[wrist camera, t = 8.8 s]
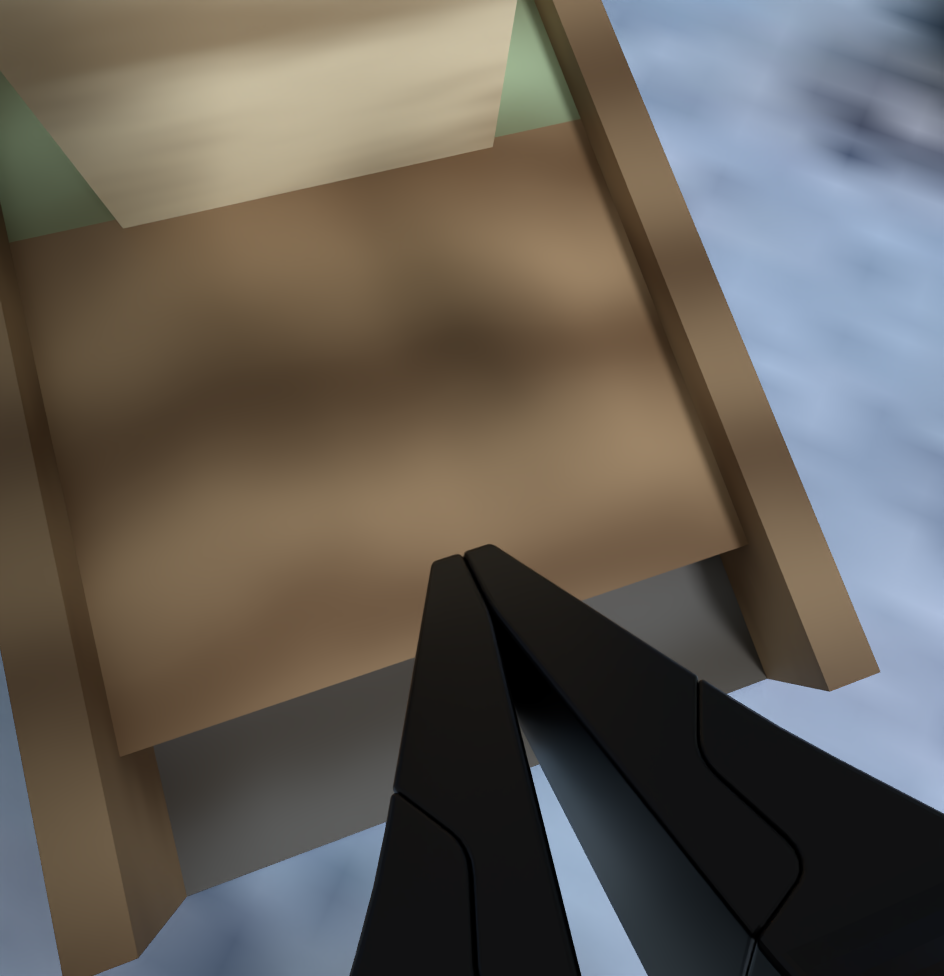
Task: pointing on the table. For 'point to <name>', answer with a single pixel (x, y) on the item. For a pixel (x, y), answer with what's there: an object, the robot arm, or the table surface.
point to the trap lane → (361, 472)
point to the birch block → (253, 91)
